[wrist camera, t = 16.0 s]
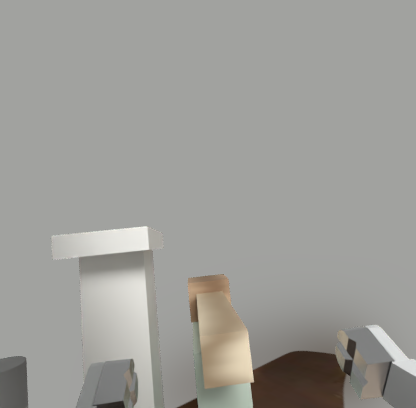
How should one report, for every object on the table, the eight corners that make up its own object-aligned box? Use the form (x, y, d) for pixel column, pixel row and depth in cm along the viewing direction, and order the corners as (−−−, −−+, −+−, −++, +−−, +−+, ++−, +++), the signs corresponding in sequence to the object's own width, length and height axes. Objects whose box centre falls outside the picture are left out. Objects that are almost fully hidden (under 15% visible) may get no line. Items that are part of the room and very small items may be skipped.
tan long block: (190, 390, 16) (183, 316, 16) (191, 311, 34) (188, 278, 35) (267, 380, 16) (258, 307, 16) (226, 306, 35) (223, 274, 35)
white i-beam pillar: (31, 607, 20) (27, 238, 23) (92, 471, 32) (82, 240, 35) (200, 575, 20) (170, 223, 24) (197, 454, 32) (177, 230, 36)
